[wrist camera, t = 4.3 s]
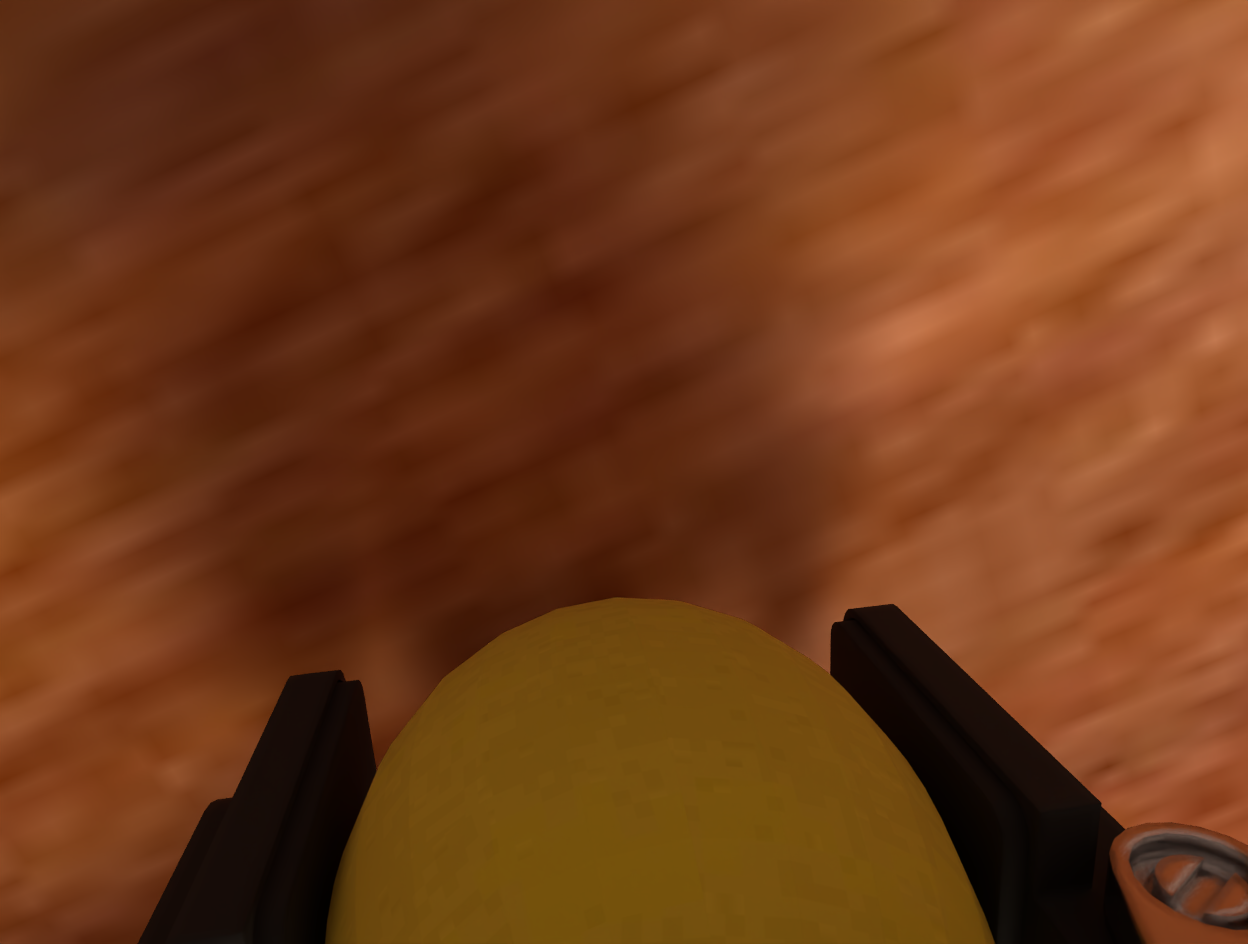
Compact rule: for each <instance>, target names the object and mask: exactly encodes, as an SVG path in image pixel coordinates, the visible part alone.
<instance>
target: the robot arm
mask: <svg viewBox="0 0 1248 944" xmlns="http://www.w3.org/2000/svg"><path fill="white" fill-rule="evenodd" d="M830 675H831V676H832V677H833V678H834V679H835V680H836V681H837V682H838V683H839V684H840V685H841V686H842V687H843V688H844V689H845V690H846V691H847V692H848V693H849V694H850V695H851V696H852V698H853V699H854V700H855V701H856V702H857V703H858V704H859V705H860V706H861V708H862V709H863V710H864V711H865V712H866V713H867V714H868V715H869V717H870V718H871V719H872V720H873V721H874V722H875V723H876V724H877V725H878V727H879V728H880V729H881V730H882V731H883V732H884V733H885V734H886V735H887V737H888V738H889V739H890V740H891V741H892V743H893V744H894V745H895V746H896V748H897V749H898V750H899V751H900V752H901V754H902V755H903V756H904V757H905V759H906V760H907V761H908V763H909V764H910V766H911V767H912V769H913V770H914V772H915V773H916V775H917V776H918V778H919V779H920V781H921V782H922V784H923V786H924V787H925V789H926V791H927V793H928V794H929V796H930V798H931V800H932V802H933V804H934V806H935V808H936V809H937V811H938V813H939V815H940V817H941V819H942V821H943V823H944V825H945V827H946V830H947V832H948V834H949V836H950V838H951V841H952V843H953V845H954V847H955V850H956V852H957V854H958V856H959V858H960V861H961V863H962V865H963V867H964V869H965V872H966V874H967V876H968V878H969V880H970V883H971V885H972V887H973V890H974V892H975V894H976V896H977V899H978V901H979V903H980V905H981V908H982V910H983V912H984V914H985V917H986V920H987V922H988V925H989V928H990V931H991V933H992V936H993V939H994V942H995V944H1248V845H1246V844H1244V843H1242V842H1240V841H1238V840H1236V839H1234V838H1232V837H1230V836H1227V835H1223V834H1220V833H1217V832H1214V831H1211V830H1208V829H1205V828H1202V827H1197V826H1191V825H1185V824H1178V823H1172V822H1168V823H1145V824H1141V825H1138V826H1134V827H1131V828H1127V829H1126V830H1125V829H1124V828H1123V827H1122V826H1121V825H1120V824H1119V823H1118V822H1117V821H1116V820H1115V819H1114V818H1113V817H1112V816H1111V815H1110V814H1109V813H1108V812H1107V811H1106V810H1105V809H1104V808H1102V807H1101V802H1100V801H1099V800H1098V799H1097V798H1096V797H1095V796H1094V795H1093V794H1092V793H1091V792H1090V791H1089V790H1087V789H1086V788H1085V787H1084V786H1083V785H1082V784H1081V783H1080V782H1079V781H1078V780H1077V779H1076V778H1075V777H1074V776H1073V775H1072V774H1071V773H1070V772H1069V771H1068V770H1067V769H1066V768H1065V767H1064V766H1062V765H1061V764H1060V763H1059V762H1058V761H1057V760H1056V759H1055V758H1054V757H1053V756H1052V755H1051V754H1050V753H1049V752H1048V751H1047V750H1046V749H1045V748H1044V747H1043V746H1042V745H1041V744H1040V743H1039V742H1037V741H1036V740H1035V739H1034V738H1033V737H1032V736H1031V735H1030V734H1029V733H1028V732H1027V731H1026V730H1025V729H1024V728H1023V727H1022V726H1021V725H1020V724H1019V723H1018V722H1017V721H1016V720H1015V719H1014V718H1013V717H1011V716H1010V715H1009V714H1008V713H1007V712H1006V711H1005V710H1004V709H1003V708H1002V707H1001V706H1000V705H999V704H998V703H997V702H996V701H995V700H994V699H993V698H992V697H991V696H990V695H989V694H988V693H986V692H985V691H984V690H983V689H982V688H981V687H980V686H979V685H978V684H977V683H976V682H975V681H974V680H973V679H972V678H971V677H970V676H969V675H968V674H967V673H966V672H965V671H964V670H963V669H961V668H960V667H959V666H958V665H957V664H956V663H955V662H954V661H953V660H952V659H951V658H950V657H949V656H948V655H947V654H946V653H945V652H944V651H943V650H942V649H941V648H940V647H939V646H938V645H936V644H935V643H934V642H933V641H932V640H931V639H930V638H929V637H928V636H927V635H926V634H925V633H924V632H923V631H922V630H921V629H920V628H919V627H918V626H917V625H916V624H915V623H914V622H913V621H912V620H910V619H909V618H908V617H907V616H906V615H905V614H904V613H903V612H902V611H901V610H900V609H899V608H898V607H897V606H895V605H894V604H888V605H879V606H871V607H863V608H854V609H848V610H847V611H846V613H845V616H844V619H843V621H842V622H834V624H833V625H832V629H831V664H830ZM376 772H377V771H376V765H375V759H374V753H373V746H372V740H371V734H370V728H369V722H368V716H367V710H366V704H365V698H364V692H363V687H362V684H361V682H360V681H359V680H354V681H345V677H344V675H343V673H342V671H341V670H335V671H327V672H318V673H310V674H302V675H293V676H290V677H289V679H288V680H287V682H286V684H285V687H284V689H283V691H282V693H281V695H280V697H279V699H278V702H277V704H276V706H275V708H274V710H273V712H272V714H271V717H270V719H269V721H268V723H267V725H266V727H265V729H264V732H263V734H262V736H261V738H260V740H259V742H258V744H257V747H256V749H255V751H254V753H253V755H252V757H251V759H250V762H249V764H248V766H247V768H246V770H245V772H244V774H243V777H242V779H241V781H240V783H239V785H238V787H237V789H236V792H235V794H234V796H233V798H225V799H218V800H215V801H213V802H211V803H210V804H209V806H208V807H207V809H206V810H205V812H204V813H203V815H202V817H201V819H200V821H199V823H198V825H197V827H196V829H195V831H194V833H193V835H192V837H191V839H190V841H189V843H188V845H187V847H186V849H185V851H184V853H183V855H182V857H181V859H180V861H179V863H178V865H177V867H176V869H175V871H174V873H173V875H172V877H171V879H170V881H169V883H168V885H167V887H166V889H165V891H164V893H163V895H162V897H161V899H160V901H159V903H158V905H157V906H156V908H155V910H154V912H153V914H152V916H151V918H150V920H149V922H148V924H147V926H146V928H145V930H144V932H143V934H142V936H141V938H140V940H139V942H138V944H325V938H326V928H327V919H328V913H329V908H330V902H331V896H332V891H333V885H334V882H335V878H336V875H337V871H338V868H339V864H340V861H341V857H342V854H343V851H344V849H345V846H346V844H347V842H348V839H349V837H350V834H351V832H352V829H353V827H354V824H355V822H356V820H357V817H358V815H359V813H360V810H361V808H362V805H363V803H364V801H365V798H366V796H367V793H368V791H369V789H370V786H371V784H372V781H373V779H374V777H375V774H376Z"/></svg>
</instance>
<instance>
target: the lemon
mask: <svg viewBox="0 0 1248 944" xmlns="http://www.w3.org/2000/svg"><path fill="white" fill-rule="evenodd" d="M325 944H995V942H994V939H993V936H992V933H991V931H990V928H989V925H988V922H987V920H986V917H985V914H984V912H983V910H982V908H981V905H980V903H979V901H978V899H977V896H976V894H975V892H974V890H973V887H972V885H971V883H970V880H969V878H968V876H967V874H966V872H965V869H964V867H963V865H962V863H961V861H960V858H959V856H958V854H957V852H956V850H955V847H954V845H953V843H952V841H951V838H950V836H949V834H948V832H947V830H946V827H945V825H944V823H943V821H942V819H941V817H940V815H939V813H938V811H937V809H936V808H935V806H934V804H933V802H932V800H931V798H930V796H929V794H928V793H927V791H926V789H925V787H924V786H923V784H922V782H921V781H920V779H919V778H918V776H917V775H916V773H915V772H914V770H913V769H912V767H911V766H910V764H909V763H908V761H907V760H906V759H905V757H904V756H903V755H902V754H901V752H900V751H899V750H898V749H897V748H896V746H895V745H894V744H893V743H892V741H891V740H890V739H889V738H888V737H887V735H886V734H885V733H884V732H883V731H882V730H881V729H880V728H879V727H878V725H877V724H876V723H875V722H874V721H873V720H872V719H871V718H870V717H869V715H868V714H867V713H866V712H865V711H864V710H863V709H862V708H861V706H860V705H859V704H858V703H857V702H856V701H855V700H854V699H853V698H852V696H851V695H850V694H849V693H848V692H847V691H846V690H845V689H844V688H843V687H842V686H841V685H840V684H839V683H838V682H837V681H836V680H835V679H834V678H833V677H832V676H831V675H830V674H829V673H828V672H827V671H825V670H824V669H823V668H821V667H820V666H819V665H817V664H816V663H815V662H813V661H812V660H811V659H809V658H808V657H806V656H804V655H803V654H801V653H799V652H798V651H796V650H794V649H793V648H791V647H789V646H788V645H786V644H784V643H783V642H781V641H780V640H778V639H776V638H775V637H773V636H771V635H770V634H768V633H766V632H765V631H763V630H761V629H760V628H758V627H756V626H755V625H753V624H751V623H749V622H747V621H745V620H743V619H740V618H737V617H733V616H730V615H727V614H723V613H720V612H716V611H713V610H710V609H706V608H703V607H699V606H696V605H693V604H689V603H686V602H682V601H676V600H663V599H641V598H620V597H615V598H610V599H604V600H599V601H594V602H589V603H584V604H579V605H574V606H568V607H563V608H558V609H555V610H553V611H551V612H549V613H546V614H544V615H542V616H540V617H537V618H535V619H533V620H531V621H528V622H526V623H524V624H522V625H520V626H517V627H515V628H513V629H511V630H508V631H506V632H504V633H502V634H501V635H499V636H498V637H496V638H495V639H494V640H492V641H491V642H490V643H488V644H487V645H486V646H485V647H483V648H482V649H481V650H479V651H478V652H477V653H475V654H474V655H473V656H471V657H470V658H469V659H467V660H466V661H465V662H463V663H462V664H461V665H460V666H458V667H457V668H456V669H454V670H453V671H452V672H450V673H449V674H448V675H446V676H445V677H444V678H443V679H442V680H441V681H440V683H439V684H438V685H437V686H436V688H435V689H434V690H433V691H432V693H431V694H430V695H429V697H428V698H427V699H426V700H425V702H424V703H423V704H422V705H421V707H420V708H419V709H418V710H417V712H416V713H415V714H414V716H413V717H412V718H411V719H410V721H409V722H408V723H407V724H406V726H405V727H404V728H403V729H402V731H401V732H400V733H399V735H398V736H397V737H396V738H395V740H394V741H393V742H392V743H391V745H390V747H389V749H388V750H387V752H386V754H385V756H384V757H383V759H382V761H381V763H380V765H379V767H378V769H377V772H376V774H375V777H374V779H373V781H372V784H371V786H370V789H369V791H368V793H367V796H366V798H365V801H364V803H363V805H362V808H361V810H360V813H359V815H358V817H357V820H356V822H355V824H354V827H353V829H352V832H351V834H350V837H349V839H348V842H347V844H346V846H345V849H344V851H343V854H342V857H341V861H340V864H339V868H338V871H337V875H336V878H335V882H334V885H333V891H332V896H331V902H330V908H329V913H328V919H327V928H326V938H325Z"/></svg>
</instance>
